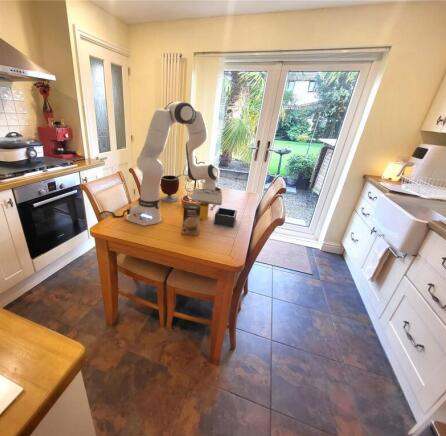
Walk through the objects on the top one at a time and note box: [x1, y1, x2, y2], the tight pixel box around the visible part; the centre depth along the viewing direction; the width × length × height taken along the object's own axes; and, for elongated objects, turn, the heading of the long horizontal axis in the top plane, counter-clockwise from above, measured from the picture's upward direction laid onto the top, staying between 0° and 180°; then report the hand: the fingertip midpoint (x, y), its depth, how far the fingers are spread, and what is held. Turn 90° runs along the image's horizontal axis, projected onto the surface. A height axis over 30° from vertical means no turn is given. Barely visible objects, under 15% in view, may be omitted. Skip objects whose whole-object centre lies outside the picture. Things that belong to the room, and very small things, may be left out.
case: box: [213, 207, 238, 228], centre depth 145 cm, size 12×12×7 cm
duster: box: [199, 202, 210, 221], centre depth 149 cm, size 5×5×10 cm
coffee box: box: [181, 203, 201, 236], centre depth 129 cm, size 9×6×16 cm
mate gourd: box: [160, 174, 182, 203], centre depth 176 cm, size 16×14×20 cm
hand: (204, 208), depth 148 cm, fingers open, 8 cm apart
